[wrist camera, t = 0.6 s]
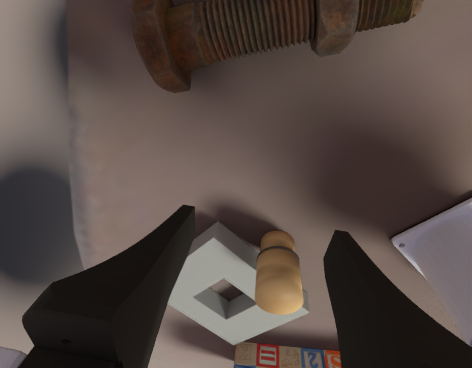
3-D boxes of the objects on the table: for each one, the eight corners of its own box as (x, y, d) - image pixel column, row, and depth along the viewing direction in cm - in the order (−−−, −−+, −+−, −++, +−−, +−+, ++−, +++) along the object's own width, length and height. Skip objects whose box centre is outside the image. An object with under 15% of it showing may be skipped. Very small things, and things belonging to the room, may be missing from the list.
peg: (305, 245, 26) (314, 303, 21) (275, 262, 28) (276, 320, 22) (279, 221, 25) (281, 277, 19) (249, 241, 27) (244, 297, 21)
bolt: (386, 7, 17) (174, 54, 20) (416, -102, 13) (140, -23, 15) (420, 62, 14) (166, 109, 17) (472, -54, 10) (120, 34, 12)
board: (307, 293, 30) (309, 312, 28) (235, 327, 35) (233, 345, 33) (218, 220, 26) (213, 237, 24) (152, 271, 31) (144, 288, 29)
